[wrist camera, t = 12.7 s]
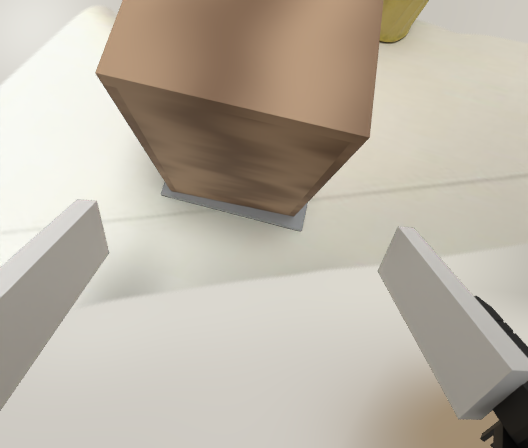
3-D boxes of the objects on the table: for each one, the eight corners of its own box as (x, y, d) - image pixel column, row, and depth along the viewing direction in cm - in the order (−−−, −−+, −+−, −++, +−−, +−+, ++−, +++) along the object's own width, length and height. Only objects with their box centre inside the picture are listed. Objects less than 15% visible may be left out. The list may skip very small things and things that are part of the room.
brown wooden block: (310, 110, 26) (389, -57, 13) (293, 216, 23) (369, 137, 11) (200, 84, 25) (169, -122, 12) (170, 191, 23) (95, 72, 10)
